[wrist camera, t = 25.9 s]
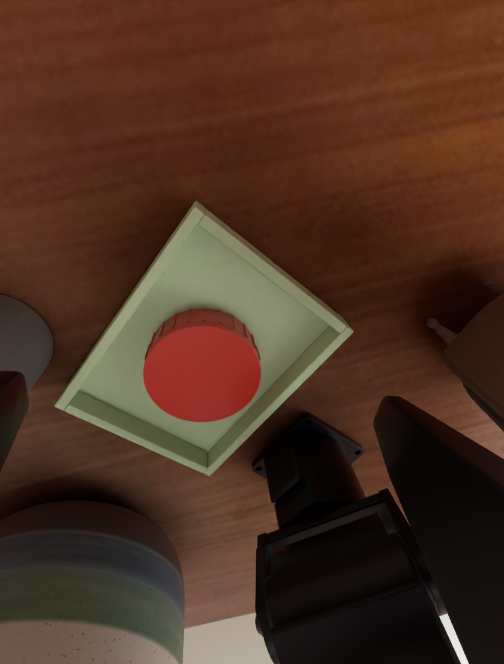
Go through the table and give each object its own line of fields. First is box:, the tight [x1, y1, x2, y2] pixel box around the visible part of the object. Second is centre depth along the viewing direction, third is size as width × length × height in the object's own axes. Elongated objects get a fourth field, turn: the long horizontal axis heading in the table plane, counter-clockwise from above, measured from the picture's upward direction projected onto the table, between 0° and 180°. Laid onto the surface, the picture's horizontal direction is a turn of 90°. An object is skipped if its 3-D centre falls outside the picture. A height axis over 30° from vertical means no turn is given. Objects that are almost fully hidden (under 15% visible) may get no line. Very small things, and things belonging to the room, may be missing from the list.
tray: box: [54, 201, 354, 476], centre depth 21 cm, size 11×14×2 cm
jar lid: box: [143, 308, 261, 422], centre depth 20 cm, size 7×7×2 cm
